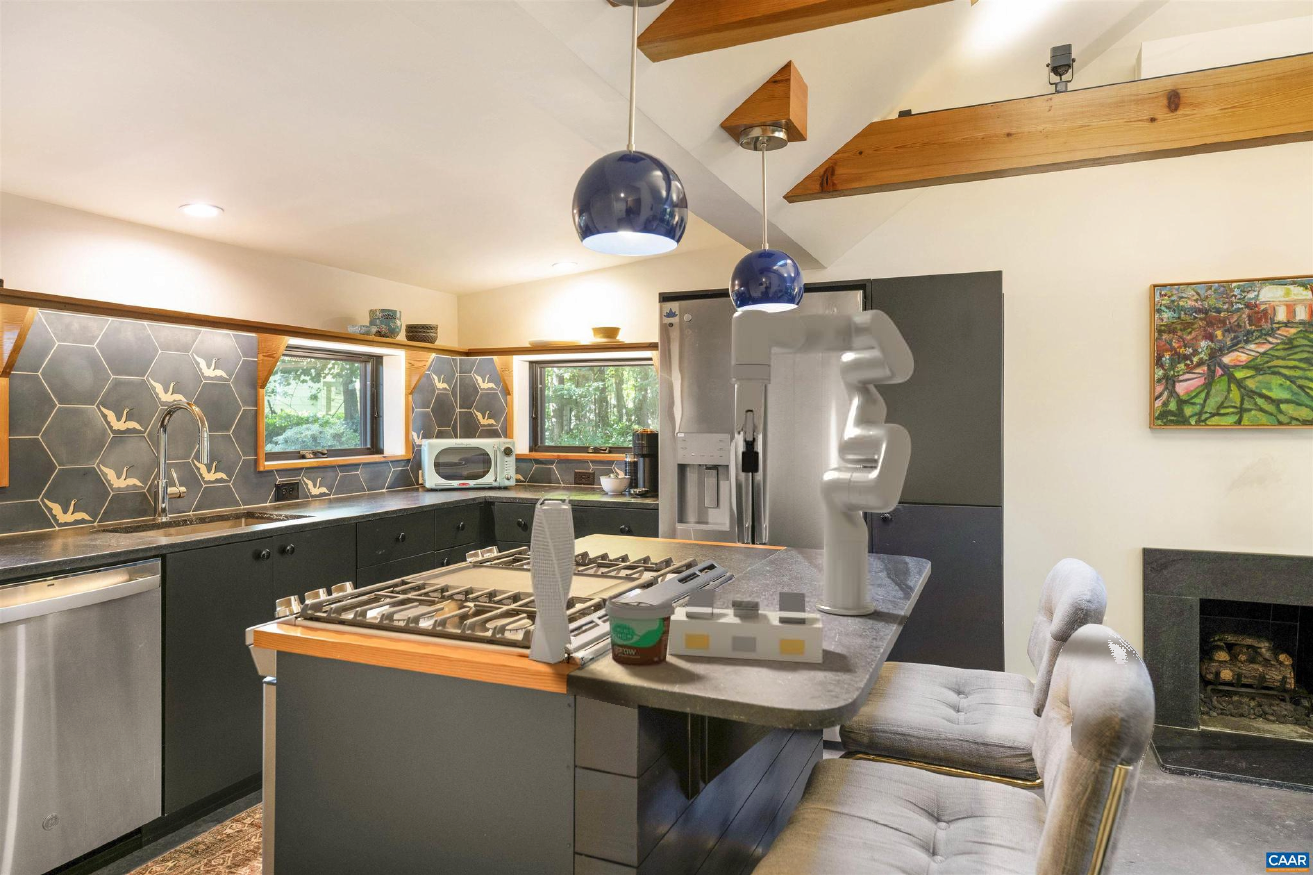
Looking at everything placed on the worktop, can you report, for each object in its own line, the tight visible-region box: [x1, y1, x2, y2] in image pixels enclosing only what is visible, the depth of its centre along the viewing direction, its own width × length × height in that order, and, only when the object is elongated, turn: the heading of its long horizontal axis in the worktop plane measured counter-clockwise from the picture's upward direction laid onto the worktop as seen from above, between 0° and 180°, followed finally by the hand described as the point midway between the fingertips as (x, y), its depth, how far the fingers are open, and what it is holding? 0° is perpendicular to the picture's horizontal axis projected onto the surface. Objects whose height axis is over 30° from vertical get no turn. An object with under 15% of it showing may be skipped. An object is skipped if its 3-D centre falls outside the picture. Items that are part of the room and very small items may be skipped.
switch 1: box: [686, 587, 717, 619], centre depth 135 cm, size 8×4×1 cm, turn 170°
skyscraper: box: [528, 490, 576, 665], centre depth 128 cm, size 8×8×28 cm
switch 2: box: [731, 599, 761, 611], centre depth 133 cm, size 8×4×1 cm, turn 171°
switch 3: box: [778, 591, 807, 624], centre depth 132 cm, size 8×4×1 cm, turn 170°
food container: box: [604, 596, 675, 667], centre depth 125 cm, size 12×6×10 cm, turn 70°
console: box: [668, 606, 824, 664], centre depth 133 cm, size 10×26×7 cm, turn 80°
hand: (750, 472), depth 143 cm, fingers closed
